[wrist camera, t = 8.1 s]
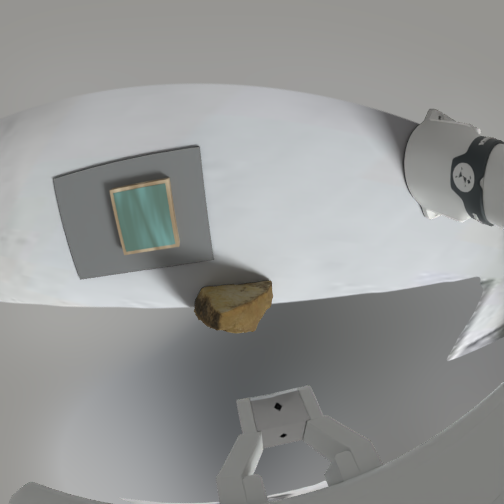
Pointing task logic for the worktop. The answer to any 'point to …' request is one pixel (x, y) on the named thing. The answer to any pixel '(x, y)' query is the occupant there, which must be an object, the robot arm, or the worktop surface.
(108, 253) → the mat
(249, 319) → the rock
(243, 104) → the worktop surface
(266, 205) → the worktop surface
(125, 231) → the coaster
